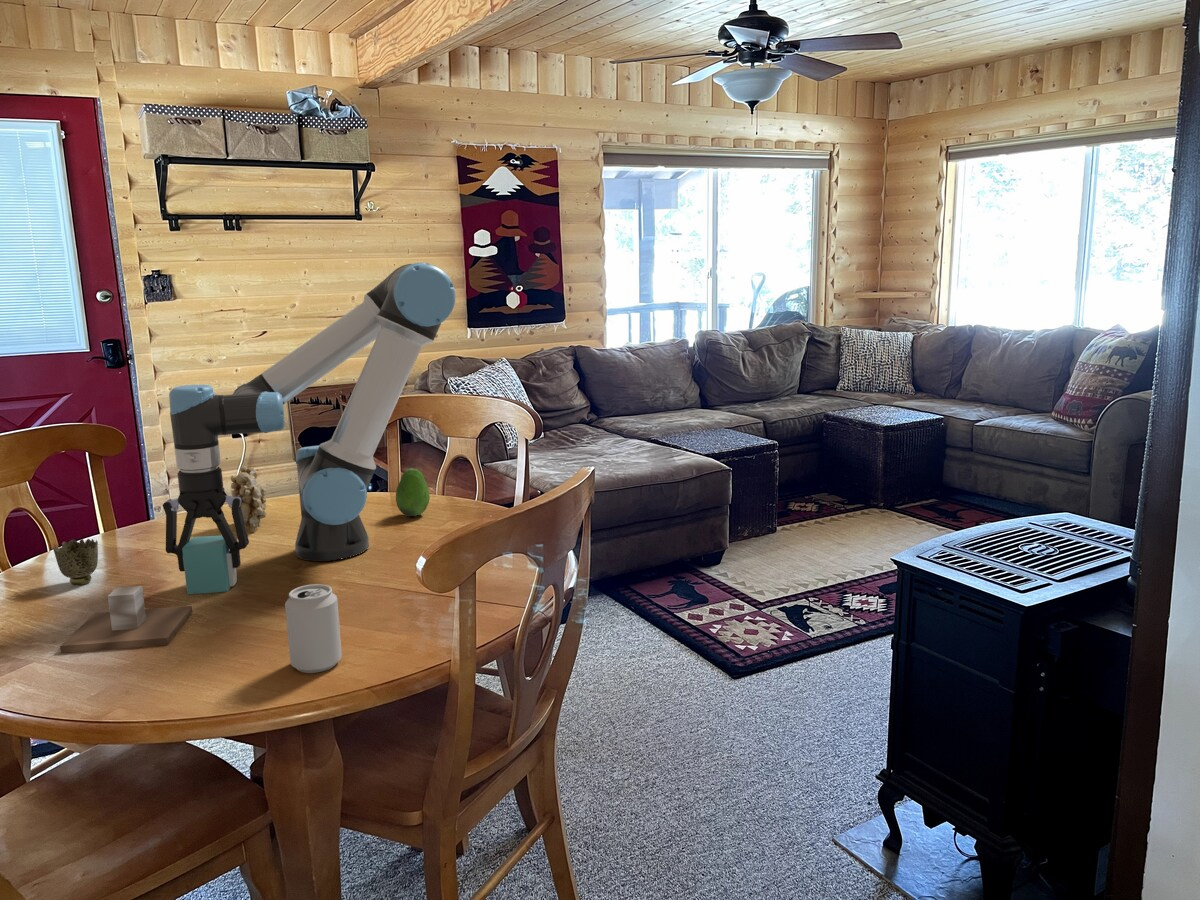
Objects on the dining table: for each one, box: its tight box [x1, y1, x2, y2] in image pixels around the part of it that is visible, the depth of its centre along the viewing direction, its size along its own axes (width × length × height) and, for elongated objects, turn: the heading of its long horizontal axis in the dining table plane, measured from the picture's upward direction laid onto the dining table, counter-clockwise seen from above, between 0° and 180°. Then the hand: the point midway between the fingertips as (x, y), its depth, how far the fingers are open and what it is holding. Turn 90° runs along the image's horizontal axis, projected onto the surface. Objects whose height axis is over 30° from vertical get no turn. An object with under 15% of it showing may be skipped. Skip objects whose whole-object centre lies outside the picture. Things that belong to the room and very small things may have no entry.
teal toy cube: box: [182, 534, 232, 595], centre depth 167 cm, size 7×7×9 cm
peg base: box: [59, 585, 194, 654], centre depth 146 cm, size 16×14×7 cm
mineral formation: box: [230, 465, 267, 533], centre depth 205 cm, size 8×13×15 cm, turn 31°
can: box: [284, 583, 342, 674], centre depth 133 cm, size 8×8×12 cm
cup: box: [52, 538, 99, 586], centre depth 170 cm, size 8×7×8 cm
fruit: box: [395, 467, 431, 517], centre depth 213 cm, size 8×8×12 cm
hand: (212, 585), depth 168 cm, fingers closed on teal toy cube, 7 cm apart
